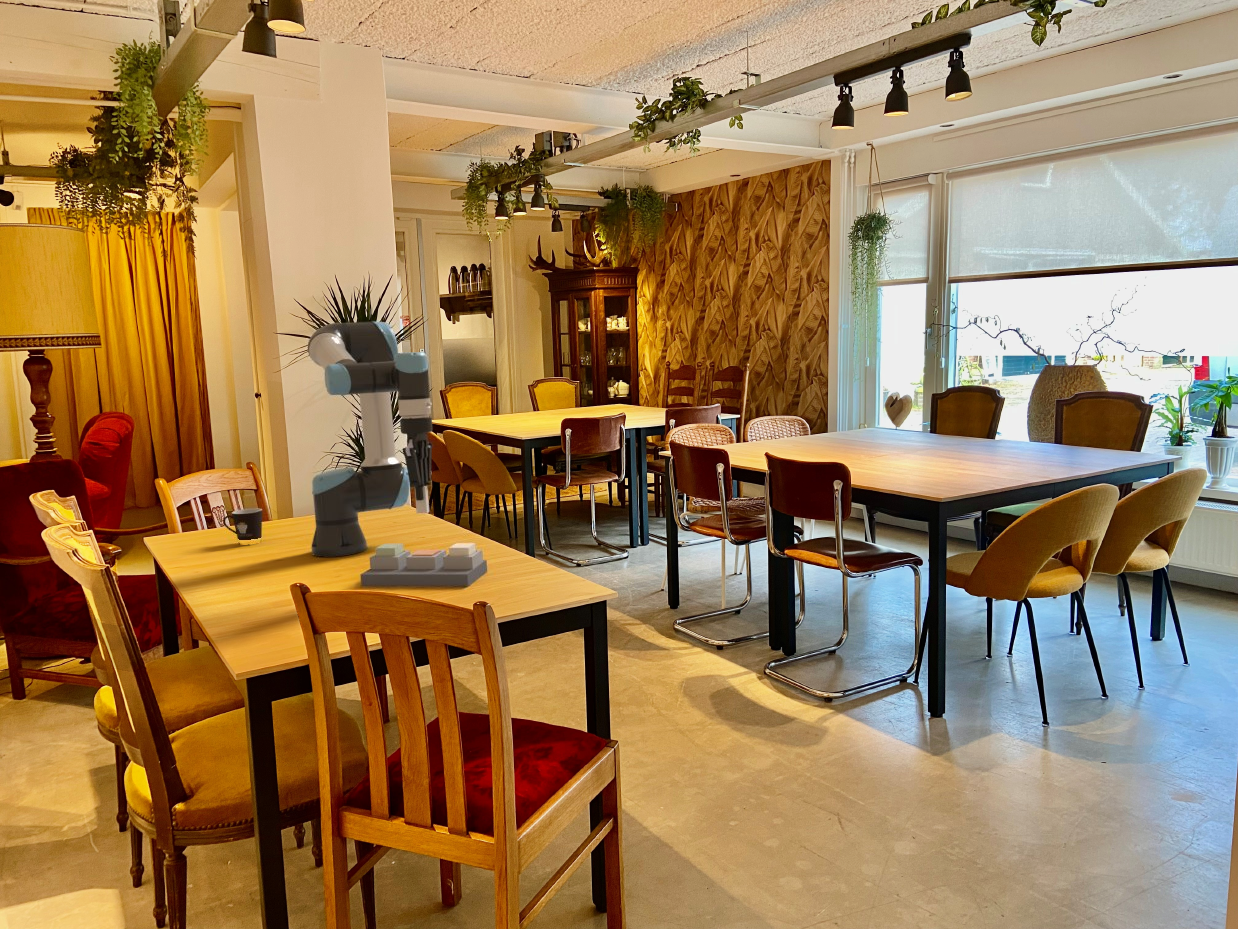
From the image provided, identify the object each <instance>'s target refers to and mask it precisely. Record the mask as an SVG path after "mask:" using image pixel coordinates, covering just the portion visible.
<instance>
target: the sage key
mask: <svg viewBox="0 0 1238 929" xmlns="http://www.w3.org/2000/svg"><path fill="white" fill-rule="evenodd" d="M404 550H405V549H404V543H383V544H382V545H379V546H378V547H375V554H376V557H392V556H398V555H400V554H401V553H403V552H404Z"/></svg>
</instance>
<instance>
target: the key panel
mask: <svg viewBox="0 0 1238 929" xmlns="http://www.w3.org/2000/svg"><path fill="white" fill-rule="evenodd" d="M419 550H420V549H417V550H416V551H414V552H412V553H411V550H410V549H409V550H408V549H406V550H405V549H404V552H403V553H401V554H400V555H398V556H392V557H376V553H375V554H373V555H371V556H369V565H370V568H369V569H368V570H366V571H364V572H362V573H360V575H359V576H360V585H361V587H384V588H385V587H386V588H387V587H391V588H394V587H397V588H398V587H401V588H403V587H411V588H412V587H413V588H415V587H416V588H417V587H418V588H419V587H420V588H421V587H423V588H424V587H425V588H428V587H429V588H430V587H432V588H434V587H435V588H436V587H437V588H438V587H441V588H443V587H444V588H445V587H448V588H449V587H451V588H452V587H453V588H454V587H455V588H456V587H457V588H458V587H459V588H461V587H462V588H468V587H470V586H471V585H473V584H474V583H475V582H477V581H478V580H479V579H480V578H481V577H483V576H484V575H485V574H486V573H488V563H487V559H484V557H483V556H484V555H483V554H484V553H483V549H476V552H475V553H474V554H473V555H471V556H449V552H448V553H447V550H446V549H439V550H440V552H439V553H437V554H436V555H434V556H412V555H413V554H414V553H416V552H418V551H419Z"/></svg>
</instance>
